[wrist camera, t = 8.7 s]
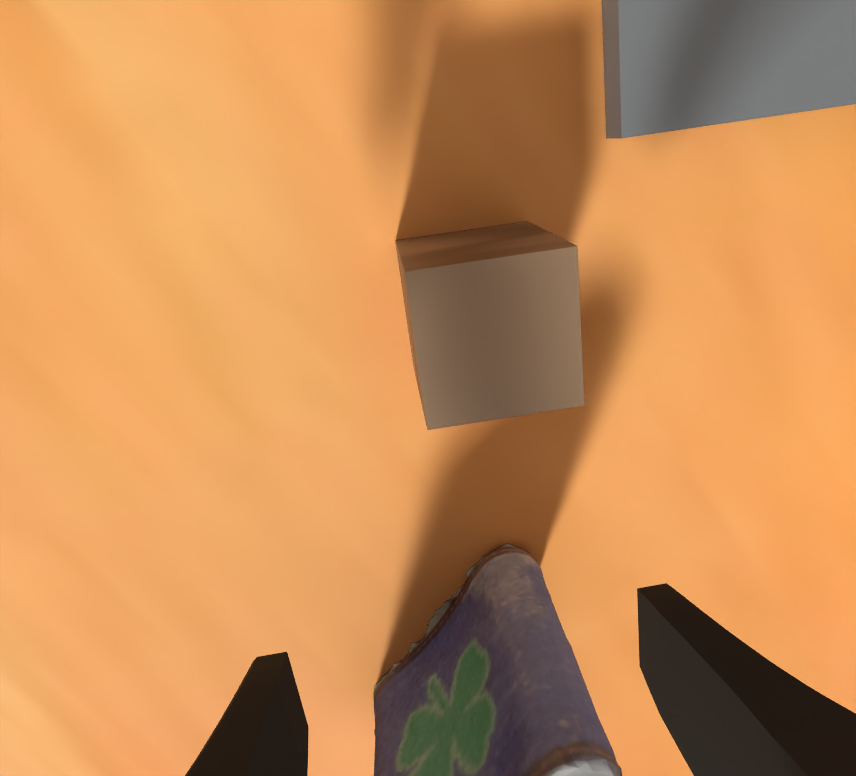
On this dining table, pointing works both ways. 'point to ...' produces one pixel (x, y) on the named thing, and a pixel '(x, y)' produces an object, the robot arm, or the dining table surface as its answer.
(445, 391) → the brown wooden block
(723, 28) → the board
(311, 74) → the dining table surface
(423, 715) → the flask
